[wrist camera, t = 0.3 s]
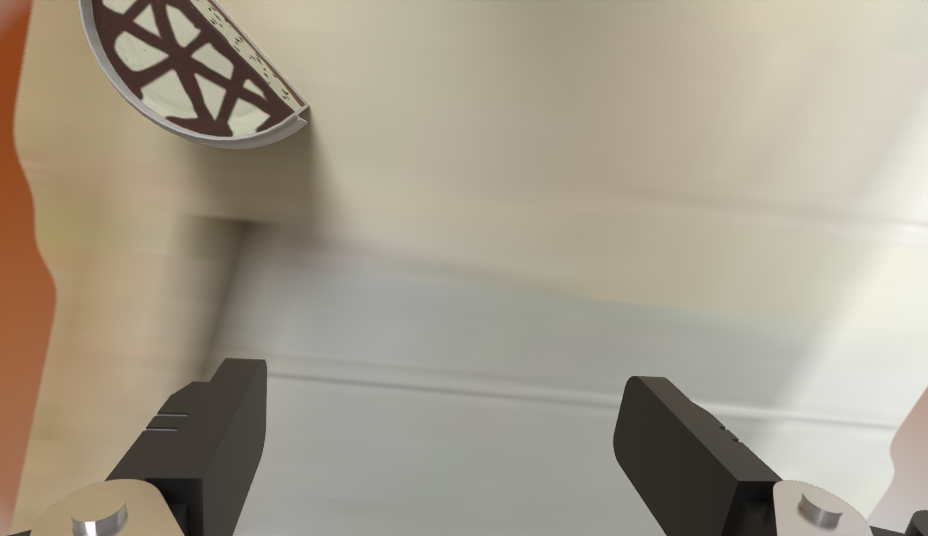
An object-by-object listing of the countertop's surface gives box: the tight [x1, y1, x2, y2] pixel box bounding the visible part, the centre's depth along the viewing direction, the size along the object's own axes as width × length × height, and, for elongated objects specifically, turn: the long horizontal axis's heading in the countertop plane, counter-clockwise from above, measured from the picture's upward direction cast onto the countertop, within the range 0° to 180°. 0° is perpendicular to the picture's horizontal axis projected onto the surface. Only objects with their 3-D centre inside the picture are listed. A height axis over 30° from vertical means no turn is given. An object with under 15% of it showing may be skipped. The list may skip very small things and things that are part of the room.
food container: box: [78, 0, 309, 149], centre depth 29 cm, size 12×6×10 cm, turn 40°
